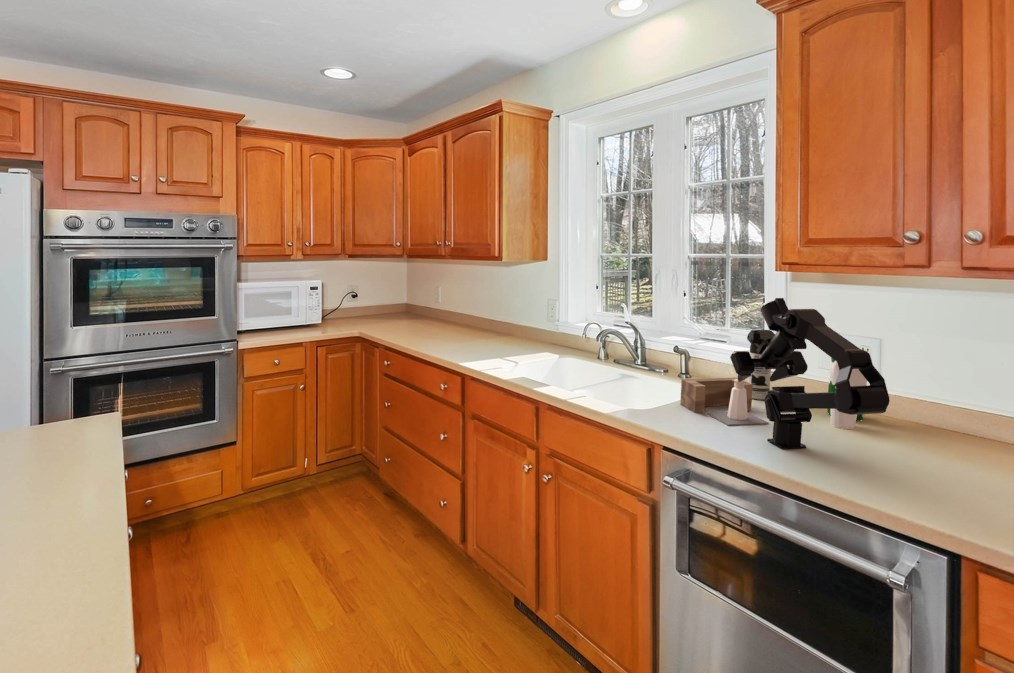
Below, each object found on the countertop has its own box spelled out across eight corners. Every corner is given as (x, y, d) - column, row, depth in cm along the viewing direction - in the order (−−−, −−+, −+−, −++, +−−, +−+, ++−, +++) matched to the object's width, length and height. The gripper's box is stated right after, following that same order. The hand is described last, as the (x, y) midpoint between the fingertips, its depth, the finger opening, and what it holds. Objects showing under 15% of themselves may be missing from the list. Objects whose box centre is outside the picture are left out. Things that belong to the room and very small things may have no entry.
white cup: (849, 422, 159) (851, 398, 158) (862, 430, 152) (864, 404, 151) (823, 422, 159) (825, 397, 158) (835, 429, 152) (837, 404, 151)
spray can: (748, 399, 184) (752, 338, 181) (745, 394, 190) (749, 335, 187) (770, 401, 182) (774, 339, 179) (767, 396, 188) (771, 336, 185)
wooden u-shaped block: (751, 410, 171) (752, 384, 170) (694, 412, 168) (696, 386, 167) (734, 402, 180) (735, 377, 179) (680, 404, 177) (681, 379, 176)
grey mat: (768, 424, 157) (768, 422, 157) (728, 425, 155) (728, 424, 155) (744, 412, 169) (744, 410, 169) (706, 413, 167) (706, 412, 167)
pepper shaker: (751, 419, 160) (754, 381, 159) (736, 421, 158) (738, 382, 157) (738, 414, 165) (740, 377, 164) (722, 415, 164) (725, 378, 162)
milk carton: (823, 411, 170) (828, 345, 167) (857, 414, 167) (863, 346, 164) (831, 419, 161) (837, 350, 159) (867, 422, 159) (873, 351, 156)
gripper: (804, 320, 147) (776, 355, 159) (736, 320, 145) (713, 356, 157) (822, 355, 140) (791, 389, 153) (750, 355, 138) (725, 390, 150)
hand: (754, 380), depth 153 cm, fingers open, 9 cm apart
